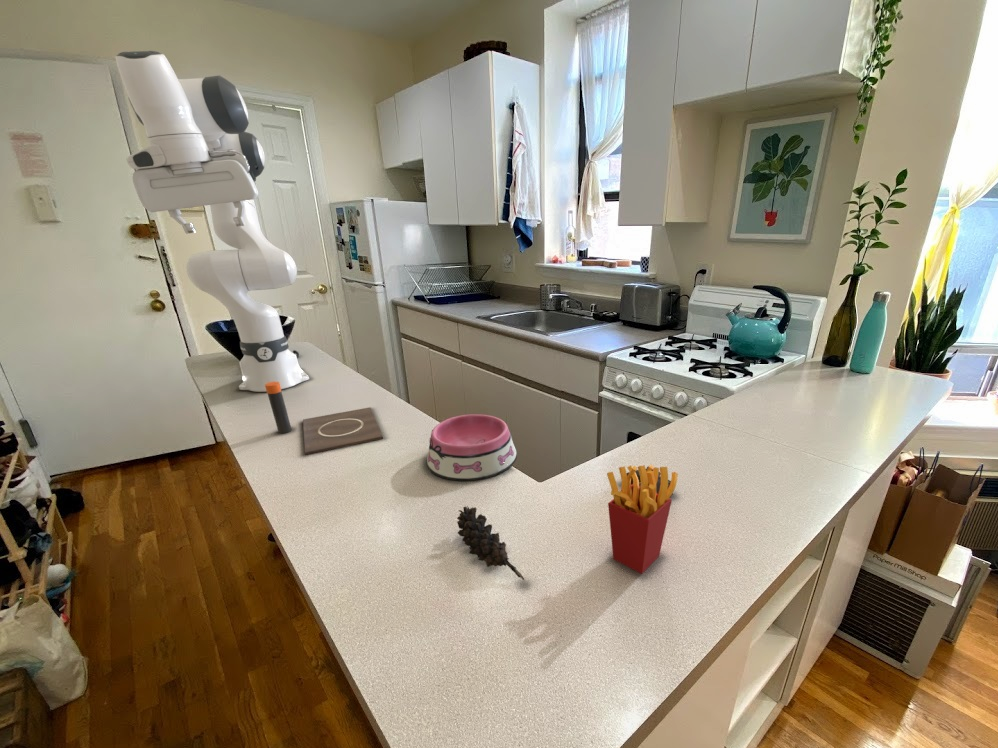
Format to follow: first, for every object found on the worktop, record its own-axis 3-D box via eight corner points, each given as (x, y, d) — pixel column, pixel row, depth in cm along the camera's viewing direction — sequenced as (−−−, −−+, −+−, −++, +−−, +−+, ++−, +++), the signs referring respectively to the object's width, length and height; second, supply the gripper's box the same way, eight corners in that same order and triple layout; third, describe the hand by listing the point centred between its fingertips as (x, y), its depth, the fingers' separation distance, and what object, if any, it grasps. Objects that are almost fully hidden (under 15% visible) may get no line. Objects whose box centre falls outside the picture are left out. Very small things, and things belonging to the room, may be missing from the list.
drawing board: (303, 421, 115) (302, 418, 115) (370, 409, 122) (370, 406, 122) (305, 455, 99) (304, 451, 99) (383, 438, 106) (382, 435, 105)
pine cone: (447, 533, 74) (444, 505, 72) (476, 521, 76) (473, 494, 74) (499, 601, 61) (496, 569, 58) (532, 584, 63) (530, 554, 61)
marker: (278, 430, 111) (265, 382, 106) (291, 427, 112) (279, 380, 107) (278, 434, 108) (264, 386, 104) (291, 432, 110) (279, 384, 105)
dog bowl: (534, 461, 95) (533, 431, 92) (451, 492, 85) (447, 459, 82) (489, 431, 108) (487, 404, 106) (413, 454, 98) (408, 425, 95)
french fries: (644, 581, 63) (651, 487, 57) (595, 555, 68) (597, 467, 62) (674, 548, 70) (684, 461, 64) (627, 526, 75) (632, 443, 69)
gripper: (245, 148, 95) (273, 220, 102) (130, 160, 90) (167, 235, 97) (238, 147, 90) (267, 223, 97) (115, 159, 85) (155, 239, 92)
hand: (216, 229), depth 97 cm, fingers open, 8 cm apart
